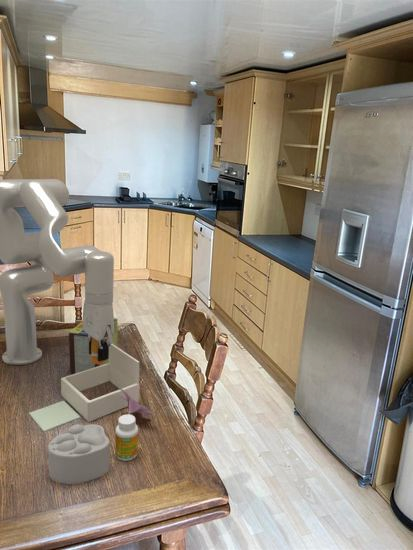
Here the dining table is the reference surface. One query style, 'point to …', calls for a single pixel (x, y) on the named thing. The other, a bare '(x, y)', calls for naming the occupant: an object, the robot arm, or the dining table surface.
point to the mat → (54, 416)
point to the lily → (135, 405)
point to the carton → (117, 371)
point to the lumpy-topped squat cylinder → (79, 454)
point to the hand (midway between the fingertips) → (98, 355)
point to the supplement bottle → (126, 438)
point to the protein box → (83, 349)
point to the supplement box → (95, 351)
